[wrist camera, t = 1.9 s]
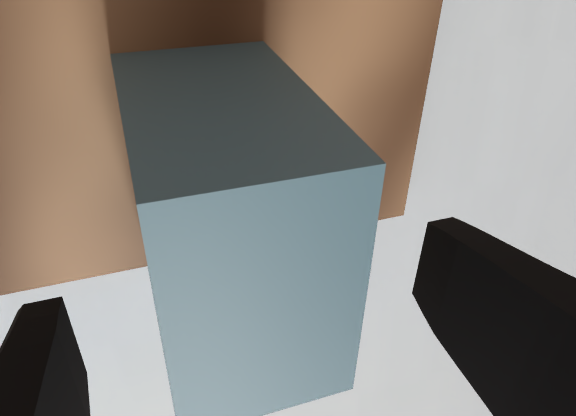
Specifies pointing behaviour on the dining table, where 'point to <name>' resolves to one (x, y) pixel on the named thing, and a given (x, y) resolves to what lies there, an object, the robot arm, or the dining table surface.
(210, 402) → the carton
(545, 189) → the dining table surface
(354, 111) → the price rail shelf
